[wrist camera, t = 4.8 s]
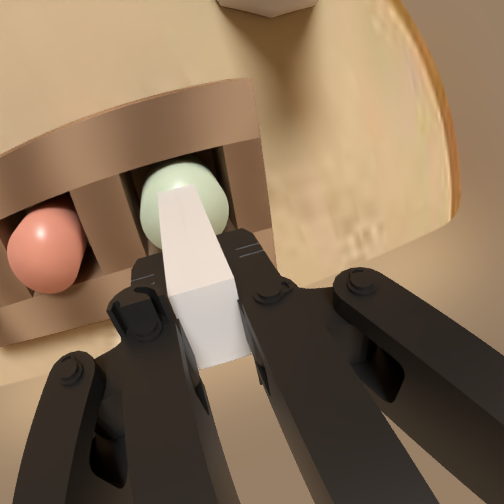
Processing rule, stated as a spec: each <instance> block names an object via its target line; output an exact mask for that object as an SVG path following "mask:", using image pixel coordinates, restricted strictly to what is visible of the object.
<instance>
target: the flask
mask: <svg viewBox="0 0 504 504" xmlns="http://www.w3.org/2000/svg"><path fill="white" fill-rule="evenodd" d="M218 2H219V4H220V6H224V7H229V8H234V9H238V10H242V11H246V12H251V13H254V14H258V15H262V16H266V17H269V18H273V17H277V16H280V15H283V14H286V13H290V12H293V11H297V10H301V9H304V8H308V7H312V6H315V4H316V2H317V0H218Z"/></svg>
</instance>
